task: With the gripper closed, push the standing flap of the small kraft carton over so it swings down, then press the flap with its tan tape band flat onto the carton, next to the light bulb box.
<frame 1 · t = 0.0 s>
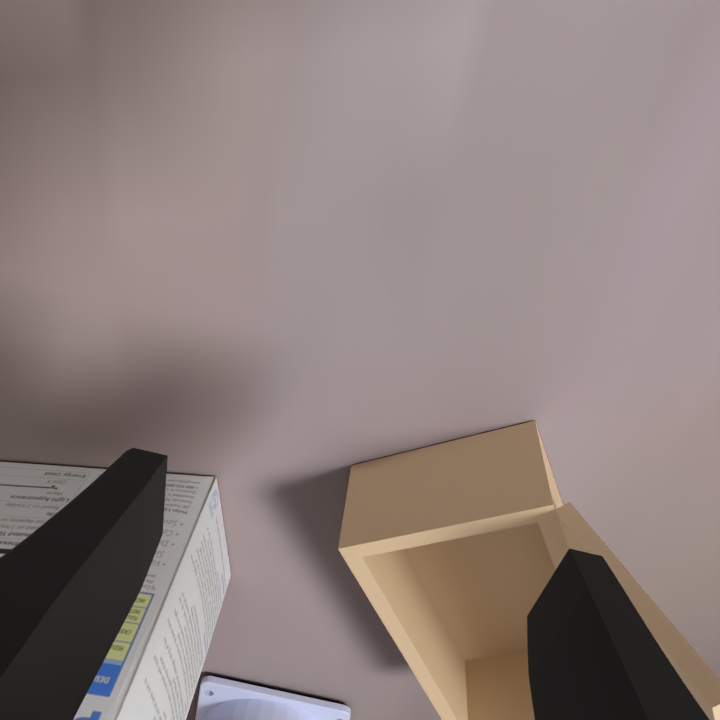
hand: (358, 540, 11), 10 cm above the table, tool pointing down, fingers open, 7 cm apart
carton: (489, 558, 26), on the table
light bulb box: (111, 515, 27), on the table
lid: (666, 717, 19), point 7 cm above the table, hinge at 110.0°, touching carton
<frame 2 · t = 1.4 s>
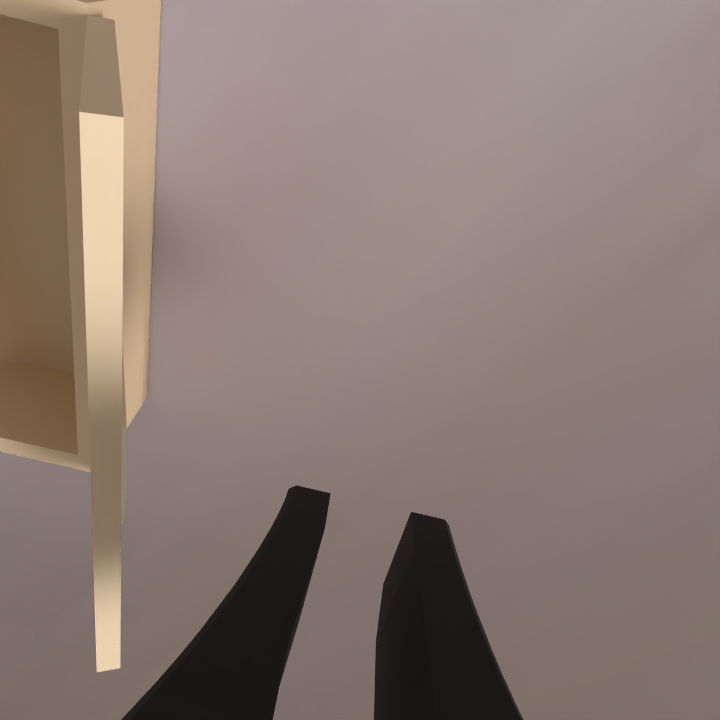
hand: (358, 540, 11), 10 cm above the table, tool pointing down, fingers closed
carton: (39, 204, 19), on the table
lid: (107, 368, 13), point 7 cm above the table, hinge at 114.2°, touching carton
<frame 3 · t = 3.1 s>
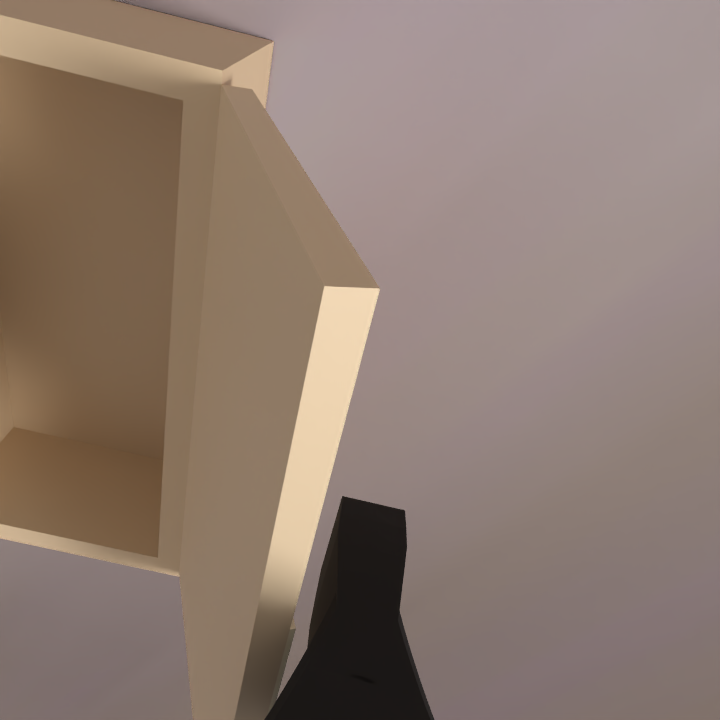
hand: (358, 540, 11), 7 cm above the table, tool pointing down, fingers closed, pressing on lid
carton: (112, 273, 17), on the table
lid: (229, 503, 11), point 7 cm above the table, hinge at 113.0°, touching carton, gripper
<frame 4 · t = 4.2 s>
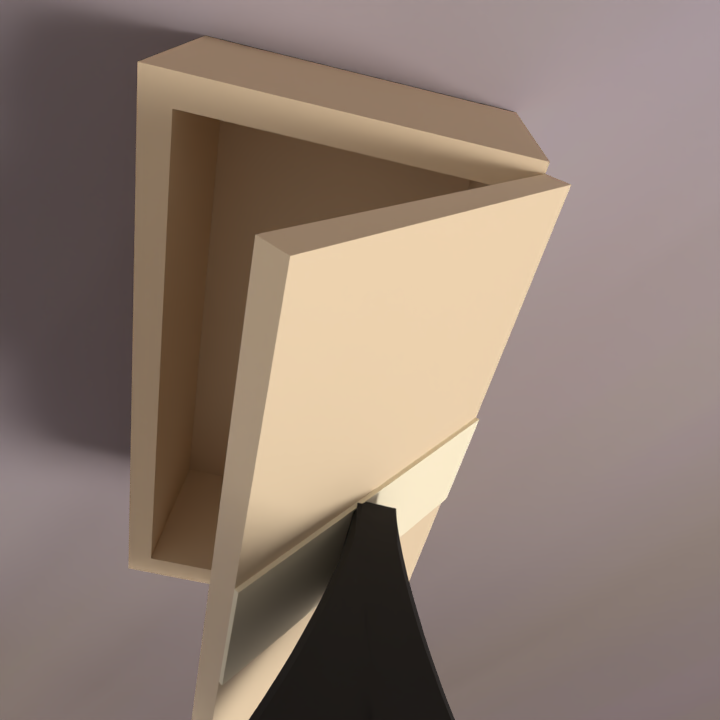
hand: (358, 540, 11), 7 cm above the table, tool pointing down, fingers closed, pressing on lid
carton: (312, 324, 17), on the table
lid: (357, 524, 12), point 7 cm above the table, hinge at 52.6°, touching gripper
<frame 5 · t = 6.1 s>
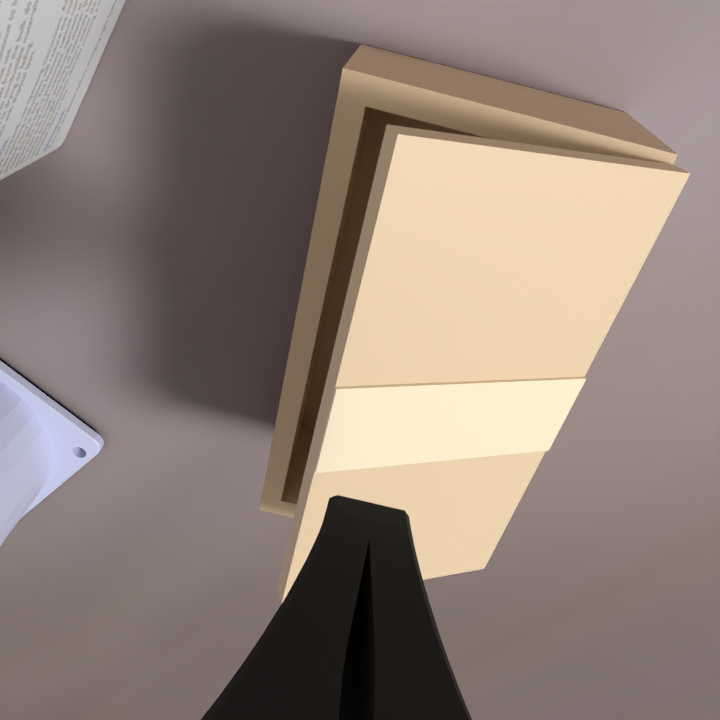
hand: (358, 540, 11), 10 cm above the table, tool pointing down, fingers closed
carton: (425, 298, 19), on the table
lid: (451, 415, 15), point 6 cm above the table, hinge at 25.3°
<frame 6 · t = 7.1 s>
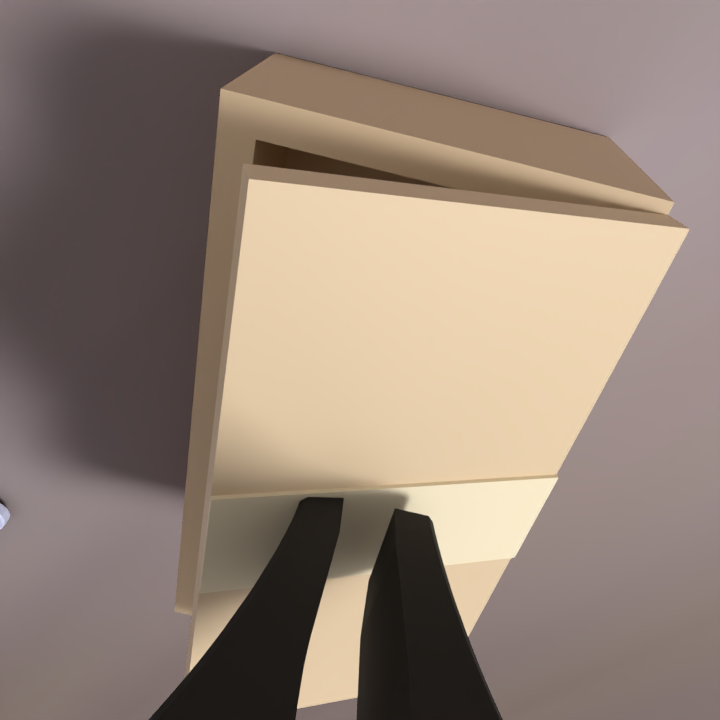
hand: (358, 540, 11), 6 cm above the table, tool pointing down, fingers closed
carton: (372, 356, 16), on the table
lid: (381, 520, 12), point 5 cm above the table, hinge at 21.4°, touching gripper
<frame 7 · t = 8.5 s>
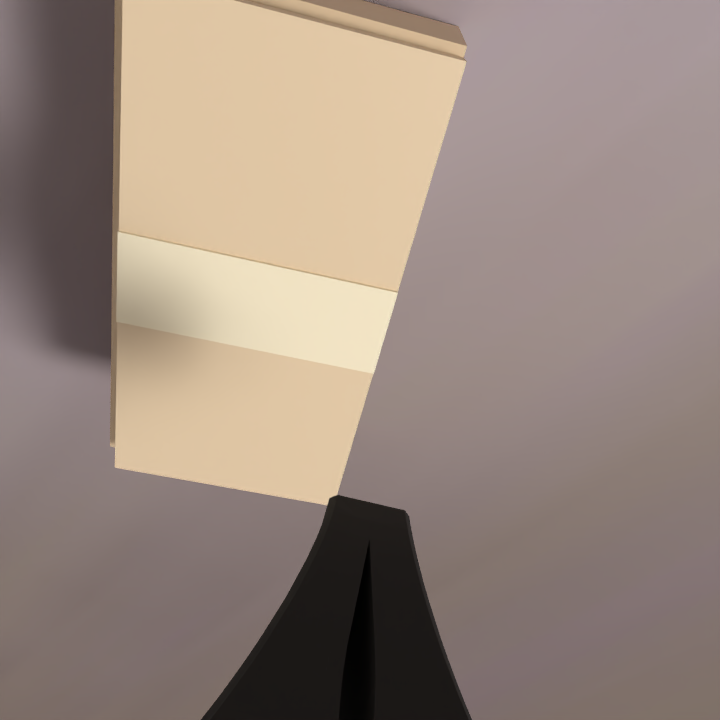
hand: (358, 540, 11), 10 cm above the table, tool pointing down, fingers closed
carton: (281, 230, 19), on the table
lid: (256, 301, 15), point 5 cm above the table, hinge at 4.1°, touching carton
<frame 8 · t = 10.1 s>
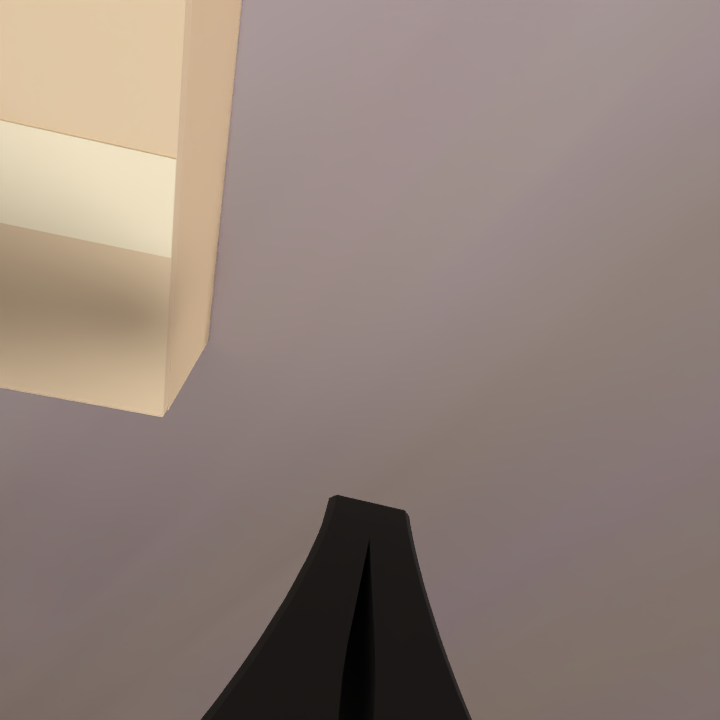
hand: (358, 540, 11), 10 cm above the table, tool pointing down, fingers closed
carton: (107, 126, 18), on the table
lid: (33, 175, 14), point 5 cm above the table, hinge at 4.2°
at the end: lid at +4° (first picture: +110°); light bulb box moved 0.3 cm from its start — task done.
